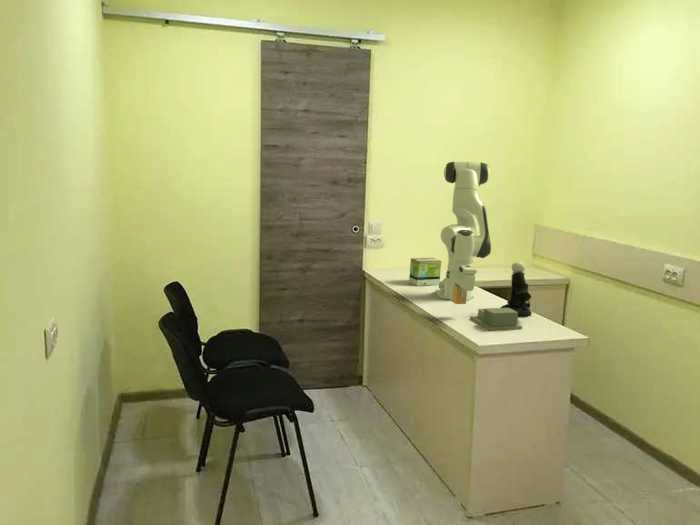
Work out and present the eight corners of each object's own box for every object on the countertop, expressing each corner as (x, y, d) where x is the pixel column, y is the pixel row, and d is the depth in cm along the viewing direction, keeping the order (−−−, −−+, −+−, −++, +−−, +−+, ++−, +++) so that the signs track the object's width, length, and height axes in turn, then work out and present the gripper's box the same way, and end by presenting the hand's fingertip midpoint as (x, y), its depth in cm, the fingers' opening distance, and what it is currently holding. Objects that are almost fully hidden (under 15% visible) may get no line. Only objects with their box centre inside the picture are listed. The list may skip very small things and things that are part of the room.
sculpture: (526, 309, 289) (530, 259, 284) (540, 323, 266) (546, 268, 261) (495, 308, 289) (499, 258, 285) (507, 321, 266) (511, 267, 261)
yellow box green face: (452, 301, 271) (453, 282, 269) (462, 301, 272) (463, 282, 270) (455, 304, 267) (457, 284, 265) (465, 303, 268) (467, 284, 267)
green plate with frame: (470, 318, 268) (471, 303, 267) (501, 317, 272) (503, 302, 271) (488, 330, 251) (489, 314, 250) (522, 328, 255) (523, 312, 254)
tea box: (417, 286, 332) (418, 260, 329) (408, 283, 341) (410, 257, 338) (440, 285, 338) (441, 259, 335) (430, 281, 347) (432, 256, 344)
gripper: (447, 261, 275) (444, 289, 278) (465, 270, 256) (462, 301, 259) (459, 261, 277) (456, 289, 280) (478, 270, 257) (475, 301, 260)
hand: (459, 295), depth 269 cm, fingers closed on yellow box green face, 4 cm apart
